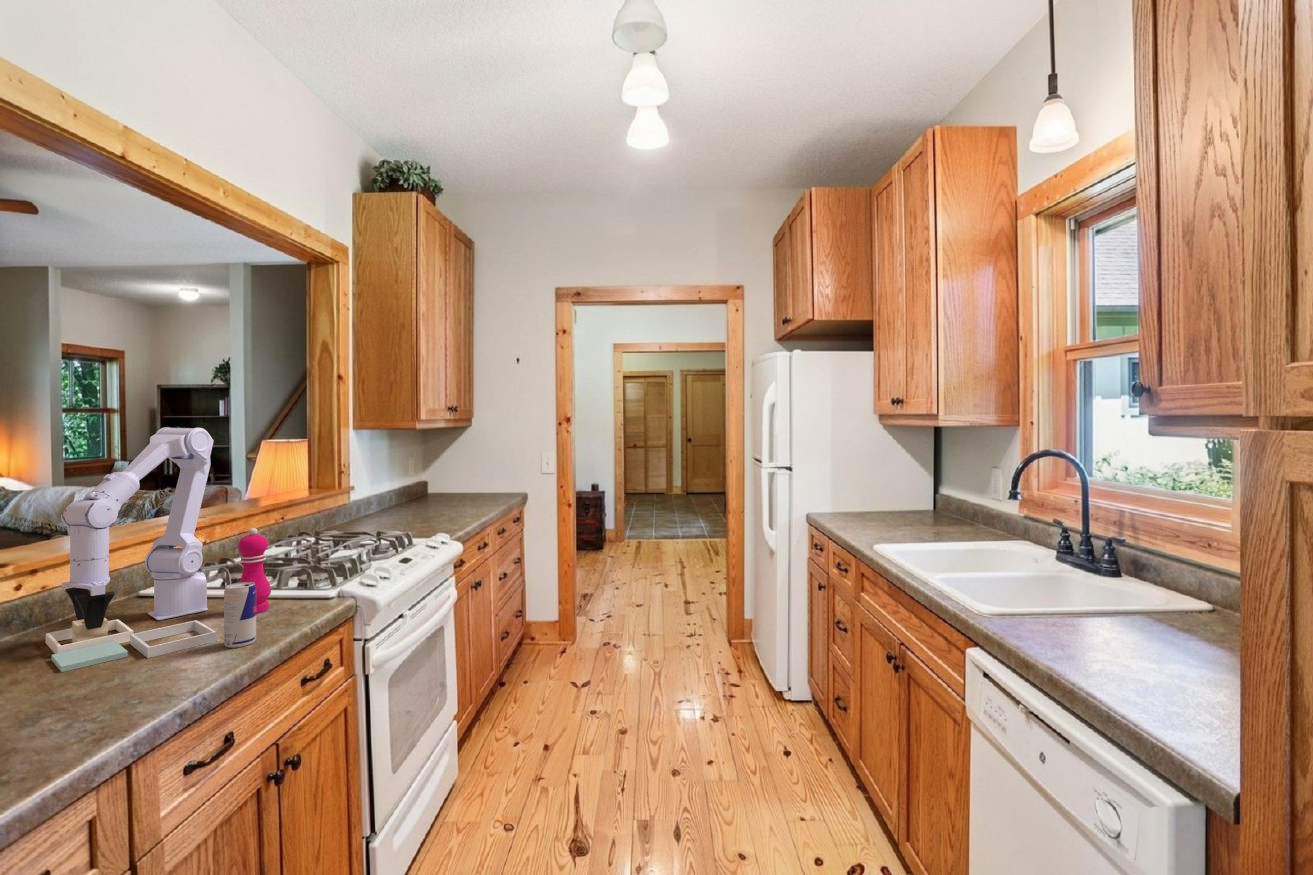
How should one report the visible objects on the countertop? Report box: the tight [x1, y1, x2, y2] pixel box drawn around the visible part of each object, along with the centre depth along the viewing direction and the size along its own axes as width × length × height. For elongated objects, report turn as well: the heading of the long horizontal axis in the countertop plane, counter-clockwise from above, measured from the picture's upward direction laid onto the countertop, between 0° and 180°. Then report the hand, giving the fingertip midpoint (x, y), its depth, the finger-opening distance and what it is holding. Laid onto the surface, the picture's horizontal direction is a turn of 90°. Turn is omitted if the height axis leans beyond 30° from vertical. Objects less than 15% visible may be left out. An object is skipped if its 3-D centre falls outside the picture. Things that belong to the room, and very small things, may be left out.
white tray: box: [45, 619, 135, 654], centre depth 118 cm, size 11×12×2 cm
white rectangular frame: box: [129, 619, 218, 659], centre depth 118 cm, size 11×12×2 cm
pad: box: [51, 641, 129, 673], centre depth 110 cm, size 9×9×1 cm
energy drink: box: [223, 582, 257, 649], centre depth 118 cm, size 5×5×12 cm
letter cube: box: [71, 617, 109, 643], centre depth 118 cm, size 4×4×5 cm
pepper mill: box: [237, 527, 272, 614], centre depth 139 cm, size 7×7×20 cm
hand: (89, 624), depth 118 cm, fingers open, 7 cm apart
